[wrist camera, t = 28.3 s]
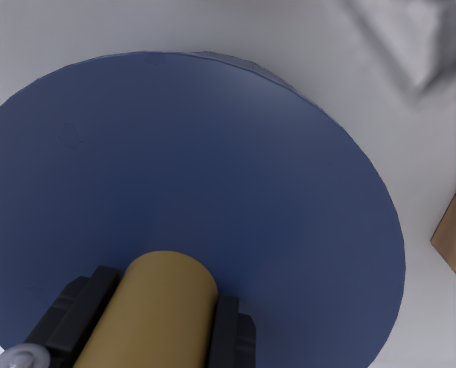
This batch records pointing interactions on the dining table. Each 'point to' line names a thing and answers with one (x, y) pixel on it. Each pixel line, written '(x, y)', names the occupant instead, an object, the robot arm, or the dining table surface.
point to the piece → (447, 236)
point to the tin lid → (194, 214)
